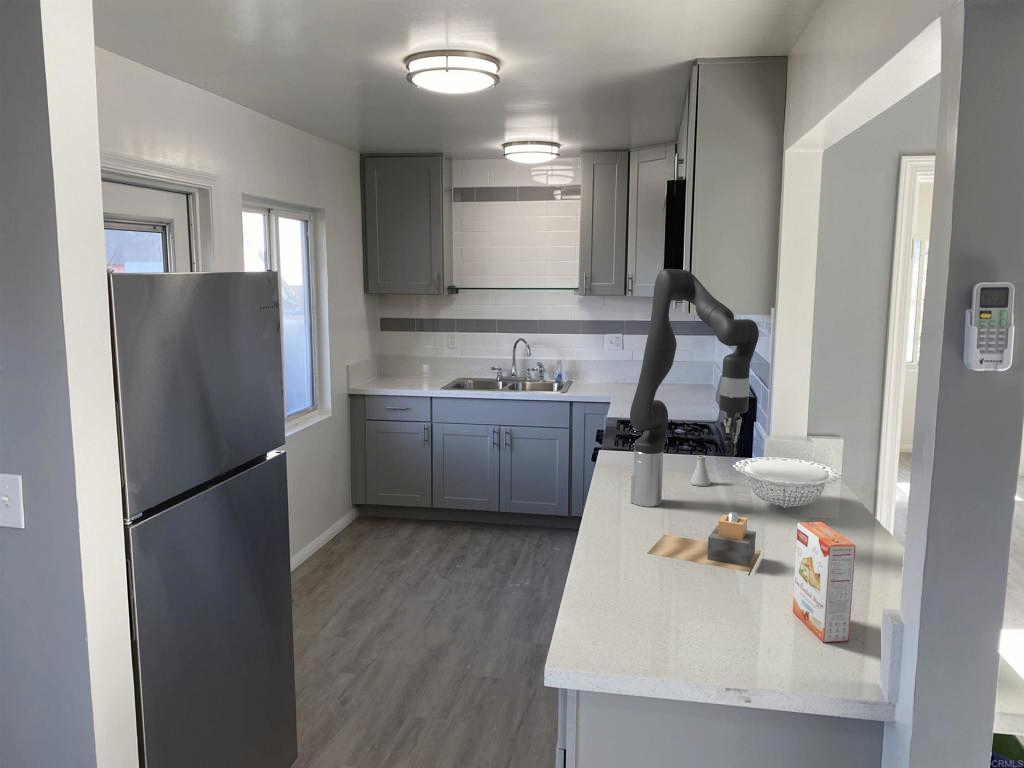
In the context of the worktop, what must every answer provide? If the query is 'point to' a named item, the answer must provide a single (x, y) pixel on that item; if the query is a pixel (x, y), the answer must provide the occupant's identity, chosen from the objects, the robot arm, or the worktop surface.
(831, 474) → the white openwork bowl
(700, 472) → the flask
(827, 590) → the cracker box
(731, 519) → the steel shaft
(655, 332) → the robot arm
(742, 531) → the block
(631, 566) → the worktop surface
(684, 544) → the bearing block
